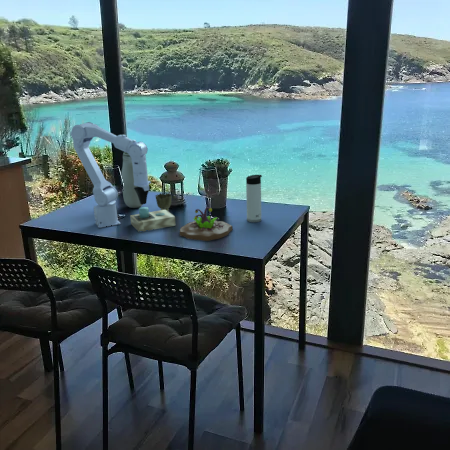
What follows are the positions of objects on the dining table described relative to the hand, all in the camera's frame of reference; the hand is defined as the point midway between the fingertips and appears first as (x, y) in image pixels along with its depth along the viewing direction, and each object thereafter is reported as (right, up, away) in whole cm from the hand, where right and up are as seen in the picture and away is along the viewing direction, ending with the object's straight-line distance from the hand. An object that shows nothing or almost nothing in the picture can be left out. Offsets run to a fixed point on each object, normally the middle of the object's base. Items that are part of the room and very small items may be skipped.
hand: (143, 203), depth 204 cm
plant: (+27, -12, -6) cm, 30 cm away
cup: (+6, -3, +23) cm, 24 cm away
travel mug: (+47, -7, +6) cm, 48 cm away
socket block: (+4, -9, +4) cm, 10 cm away
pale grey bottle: (-9, -1, +31) cm, 32 cm away
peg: (0, -6, +2) cm, 6 cm away
